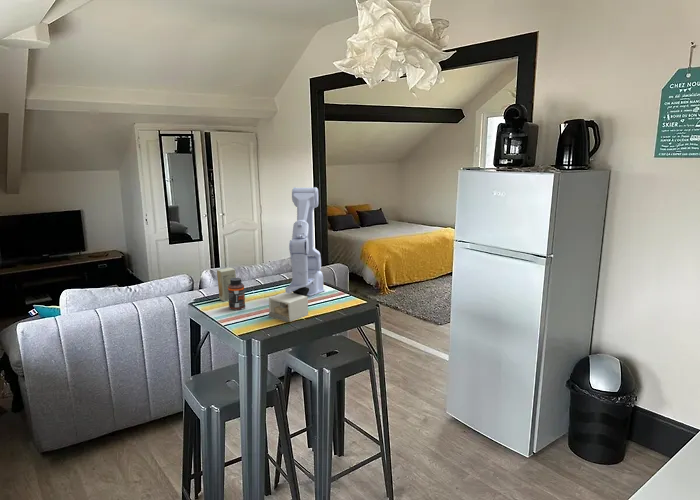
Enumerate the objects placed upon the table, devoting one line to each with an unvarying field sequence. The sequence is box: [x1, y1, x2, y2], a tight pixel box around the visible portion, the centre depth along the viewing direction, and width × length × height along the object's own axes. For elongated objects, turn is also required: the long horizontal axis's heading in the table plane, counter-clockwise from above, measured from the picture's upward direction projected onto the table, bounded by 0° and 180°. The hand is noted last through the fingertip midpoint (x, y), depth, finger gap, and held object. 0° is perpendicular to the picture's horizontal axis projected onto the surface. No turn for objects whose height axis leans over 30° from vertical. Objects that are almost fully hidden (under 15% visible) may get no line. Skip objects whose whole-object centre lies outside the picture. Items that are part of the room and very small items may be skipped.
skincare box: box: [216, 267, 237, 302], centre depth 191 cm, size 6×4×12 cm
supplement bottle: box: [228, 277, 246, 311], centre depth 180 cm, size 6×6×11 cm
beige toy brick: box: [275, 302, 289, 317], centre depth 174 cm, size 9×4×5 cm, turn 132°
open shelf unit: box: [268, 292, 309, 323], centre depth 172 cm, size 10×10×7 cm
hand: (301, 307), depth 177 cm, fingers closed, pressing on beige toy brick
